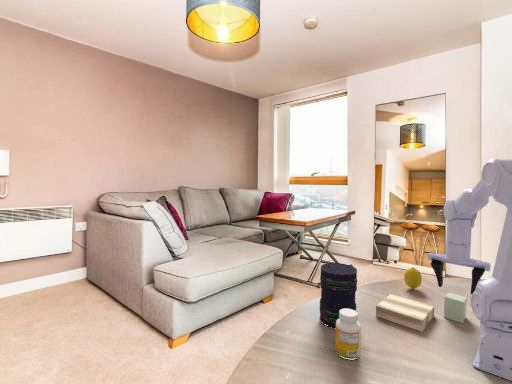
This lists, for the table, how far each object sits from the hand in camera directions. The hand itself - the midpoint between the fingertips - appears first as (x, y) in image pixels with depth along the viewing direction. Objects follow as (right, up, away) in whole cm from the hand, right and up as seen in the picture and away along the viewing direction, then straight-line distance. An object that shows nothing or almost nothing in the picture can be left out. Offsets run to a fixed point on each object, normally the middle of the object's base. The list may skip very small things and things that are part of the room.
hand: (456, 289), depth 81 cm
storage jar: (-35, -8, -2) cm, 36 cm away
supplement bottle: (-37, -9, -17) cm, 41 cm away
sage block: (0, -8, 0) cm, 8 cm away
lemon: (-1, -7, +21) cm, 22 cm away
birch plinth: (-14, -8, +1) cm, 16 cm away
